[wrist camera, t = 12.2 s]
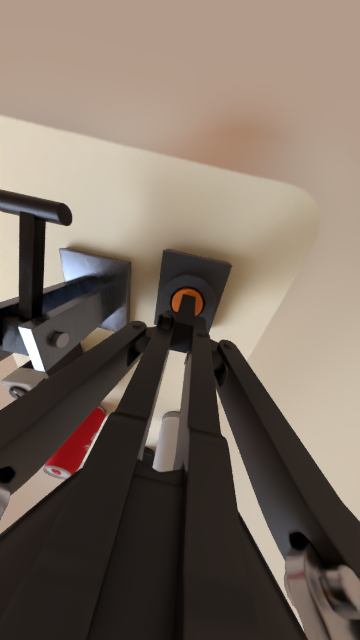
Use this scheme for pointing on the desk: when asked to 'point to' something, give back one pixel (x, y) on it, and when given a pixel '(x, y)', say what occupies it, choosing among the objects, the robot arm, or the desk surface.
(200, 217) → the desk surface
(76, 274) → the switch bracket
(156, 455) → the travel mug
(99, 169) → the desk surface
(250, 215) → the desk surface
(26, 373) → the camera
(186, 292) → the button
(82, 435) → the beverage can
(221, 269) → the control block
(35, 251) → the switch lever
